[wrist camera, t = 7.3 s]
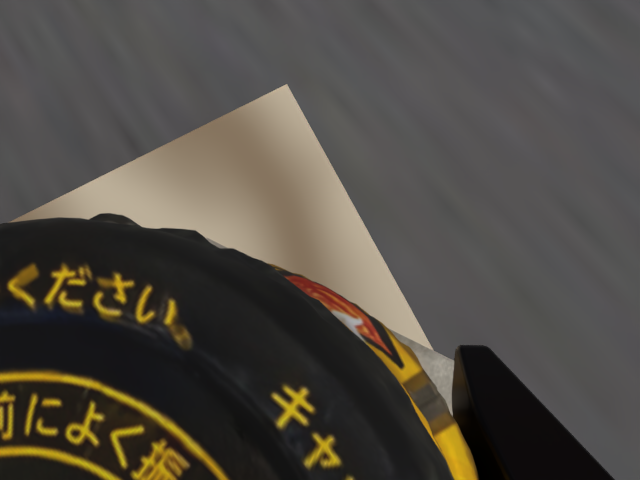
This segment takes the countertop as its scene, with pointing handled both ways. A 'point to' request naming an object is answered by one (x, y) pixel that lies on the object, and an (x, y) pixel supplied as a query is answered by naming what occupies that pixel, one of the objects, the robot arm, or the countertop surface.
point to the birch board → (254, 203)
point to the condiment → (203, 366)
